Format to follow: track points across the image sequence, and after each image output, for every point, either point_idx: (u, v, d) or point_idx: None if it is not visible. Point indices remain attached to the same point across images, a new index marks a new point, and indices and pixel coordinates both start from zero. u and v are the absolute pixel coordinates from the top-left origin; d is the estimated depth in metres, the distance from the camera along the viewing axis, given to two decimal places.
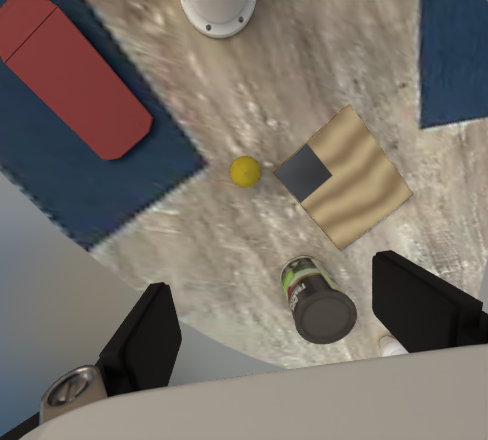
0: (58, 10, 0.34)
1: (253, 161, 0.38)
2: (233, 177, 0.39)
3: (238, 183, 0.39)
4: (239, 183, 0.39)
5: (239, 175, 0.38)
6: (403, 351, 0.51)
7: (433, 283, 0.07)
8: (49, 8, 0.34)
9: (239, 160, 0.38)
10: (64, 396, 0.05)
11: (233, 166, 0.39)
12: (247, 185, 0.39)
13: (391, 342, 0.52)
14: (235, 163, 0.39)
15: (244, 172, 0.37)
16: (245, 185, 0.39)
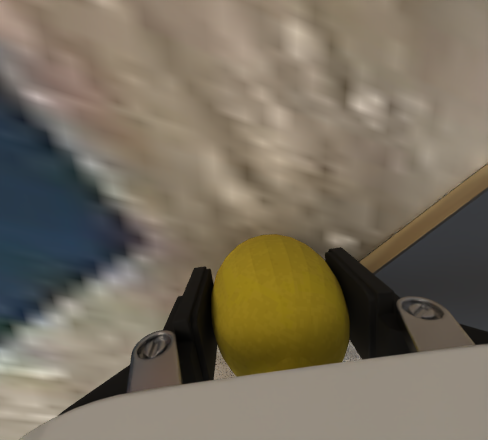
0: None
1: (326, 287, 0.08)
2: (224, 356, 0.08)
3: None
4: None
5: None
6: None
7: (362, 275, 0.08)
8: None
9: (255, 283, 0.07)
10: (150, 353, 0.06)
11: (224, 308, 0.08)
12: None
13: None
14: (234, 295, 0.08)
15: None
16: None
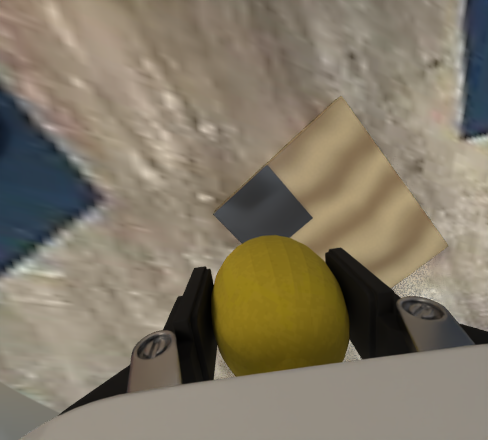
0: None
1: (325, 288, 0.08)
2: (224, 357, 0.08)
3: None
4: None
5: None
6: None
7: (362, 275, 0.08)
8: None
9: (254, 284, 0.07)
10: (150, 352, 0.06)
11: (224, 309, 0.08)
12: None
13: None
14: (234, 296, 0.08)
15: None
16: None
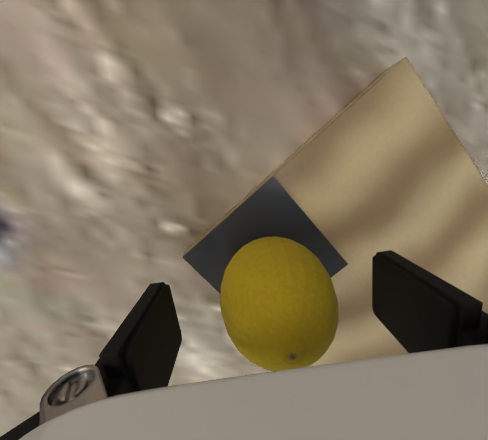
0: None
1: (317, 279, 0.09)
2: (232, 338, 0.10)
3: None
4: (254, 363, 0.10)
5: (259, 352, 0.08)
6: None
7: (433, 283, 0.07)
8: None
9: (258, 276, 0.09)
10: (64, 396, 0.05)
11: (232, 297, 0.09)
12: None
13: None
14: (241, 286, 0.09)
15: (286, 352, 0.08)
16: None
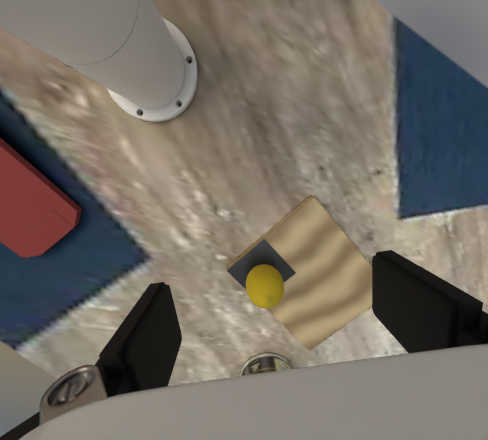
0: None
1: (276, 280, 0.31)
2: (251, 298, 0.31)
3: (257, 305, 0.31)
4: None
5: (259, 300, 0.30)
6: None
7: (433, 283, 0.07)
8: None
9: (259, 279, 0.31)
10: (64, 396, 0.05)
11: (251, 286, 0.31)
12: None
13: None
14: (253, 282, 0.31)
15: (266, 299, 0.29)
16: None
